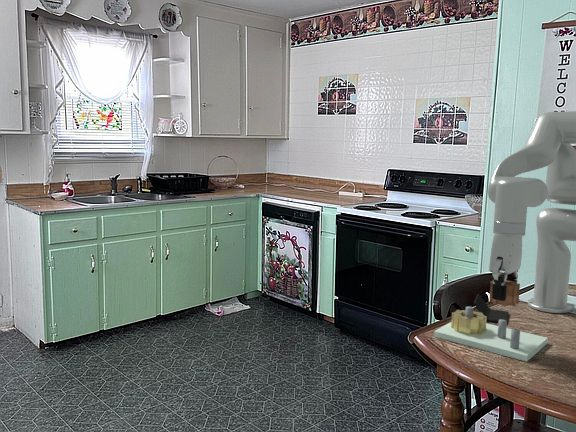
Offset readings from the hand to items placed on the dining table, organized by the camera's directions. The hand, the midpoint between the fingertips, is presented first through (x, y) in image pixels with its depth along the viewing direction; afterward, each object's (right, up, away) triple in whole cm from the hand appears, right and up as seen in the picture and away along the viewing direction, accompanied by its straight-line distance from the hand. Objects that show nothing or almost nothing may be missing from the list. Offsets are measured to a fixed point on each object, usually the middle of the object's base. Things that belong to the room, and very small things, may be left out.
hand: (504, 296), depth 139 cm
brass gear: (-7, -10, +8) cm, 14 cm away
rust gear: (0, -1, 0) cm, 2 cm away
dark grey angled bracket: (+5, -10, +23) cm, 25 cm away
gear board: (-2, -12, +4) cm, 13 cm away
